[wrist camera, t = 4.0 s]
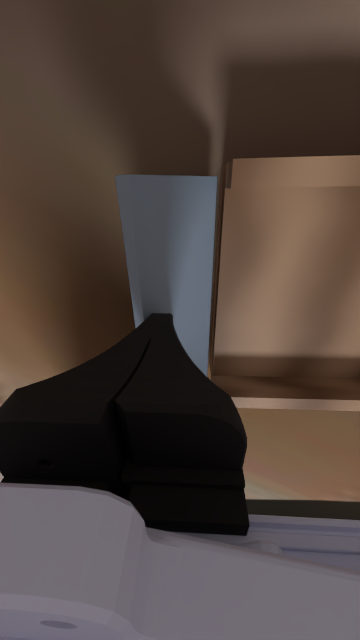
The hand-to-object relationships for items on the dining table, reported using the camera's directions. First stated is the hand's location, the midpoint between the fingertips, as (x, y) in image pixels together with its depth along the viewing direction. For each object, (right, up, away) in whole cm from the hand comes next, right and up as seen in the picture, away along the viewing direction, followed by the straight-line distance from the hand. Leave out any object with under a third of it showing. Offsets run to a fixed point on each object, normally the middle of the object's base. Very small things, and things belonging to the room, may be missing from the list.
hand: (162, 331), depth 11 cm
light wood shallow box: (+9, +3, +4) cm, 10 cm away
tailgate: (+3, +2, +3) cm, 4 cm away
